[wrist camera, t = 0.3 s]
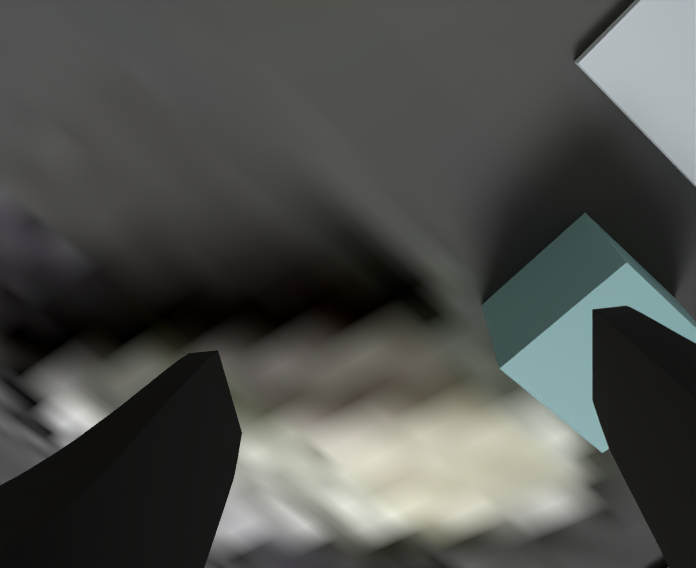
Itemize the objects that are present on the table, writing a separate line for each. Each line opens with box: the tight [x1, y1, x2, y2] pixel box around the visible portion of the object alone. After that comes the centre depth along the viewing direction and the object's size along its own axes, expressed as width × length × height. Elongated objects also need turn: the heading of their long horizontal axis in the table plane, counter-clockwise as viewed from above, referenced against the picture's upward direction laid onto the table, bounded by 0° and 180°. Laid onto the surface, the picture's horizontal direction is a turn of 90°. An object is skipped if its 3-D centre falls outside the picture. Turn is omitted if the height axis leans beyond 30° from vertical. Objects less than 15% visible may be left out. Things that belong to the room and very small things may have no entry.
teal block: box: [482, 213, 696, 453], centre depth 20 cm, size 4×4×4 cm
